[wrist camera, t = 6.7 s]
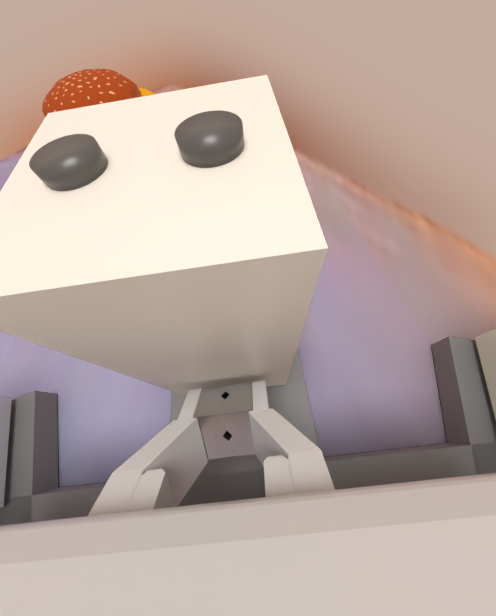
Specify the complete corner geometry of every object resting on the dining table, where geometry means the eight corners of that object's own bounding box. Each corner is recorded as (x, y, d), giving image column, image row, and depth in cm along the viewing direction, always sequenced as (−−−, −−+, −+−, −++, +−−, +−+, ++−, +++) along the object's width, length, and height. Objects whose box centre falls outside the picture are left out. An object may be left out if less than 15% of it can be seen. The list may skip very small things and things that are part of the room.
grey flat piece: (759, 602, 8) (852, 635, 7) (-168, 682, 10) (-239, 724, 8) (535, 311, 14) (563, 299, 12) (-36, 387, 15) (-66, 384, 14)
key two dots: (285, 384, 12) (333, 228, 2) (188, 396, 12) (-104, 294, 3) (270, 298, 14) (266, 55, 5) (189, 310, 14) (36, 96, 5)
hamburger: (106, 128, 30) (66, 55, 24) (172, 133, 28) (146, 54, 22) (61, 173, 26) (0, 98, 20) (135, 182, 24) (91, 102, 18)
